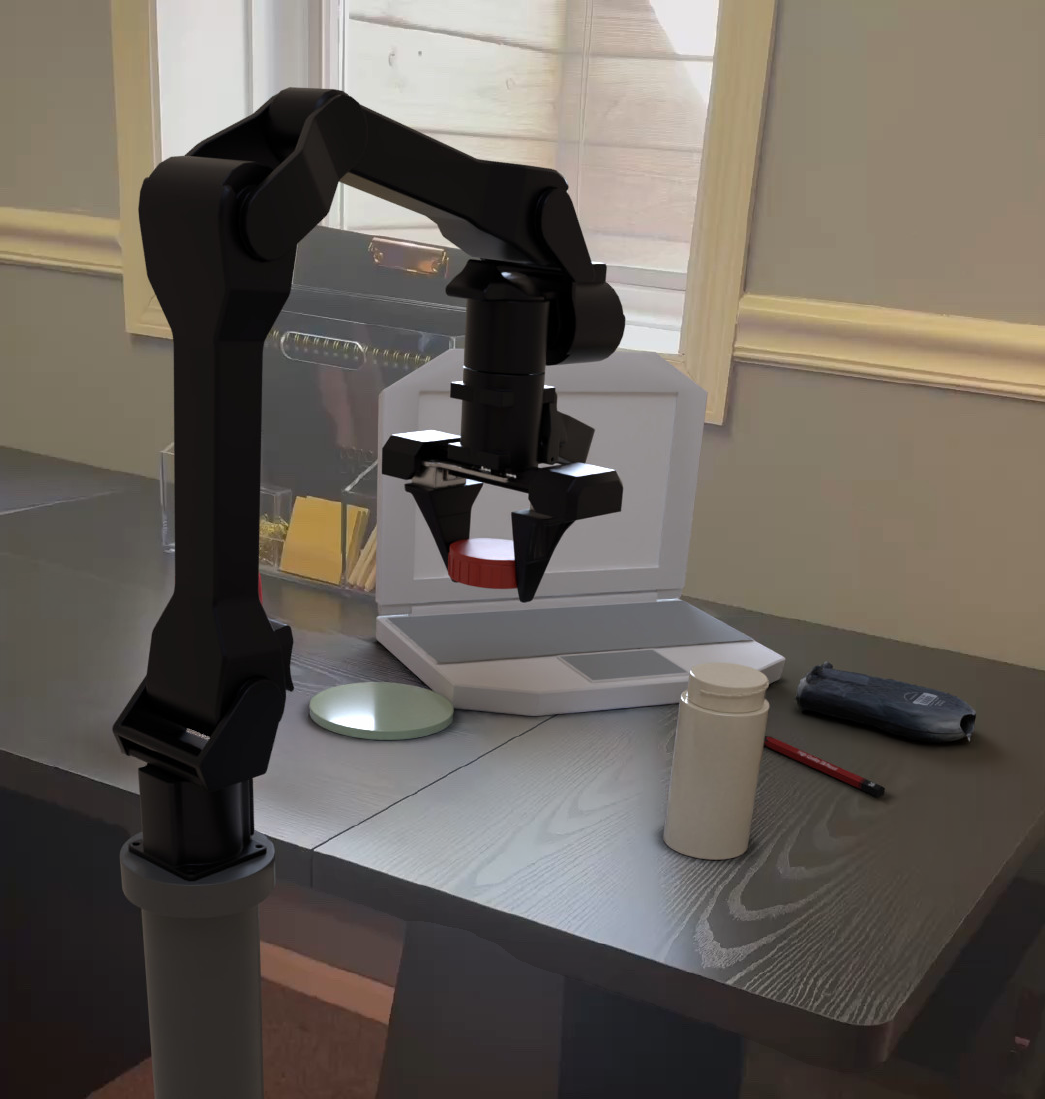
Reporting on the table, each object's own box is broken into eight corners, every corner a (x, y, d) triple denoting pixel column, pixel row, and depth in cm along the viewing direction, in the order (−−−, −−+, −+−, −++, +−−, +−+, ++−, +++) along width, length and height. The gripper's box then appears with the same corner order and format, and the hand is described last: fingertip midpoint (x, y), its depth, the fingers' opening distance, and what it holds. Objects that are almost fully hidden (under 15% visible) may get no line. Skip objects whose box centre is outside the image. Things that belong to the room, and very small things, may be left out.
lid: (504, 562, 110) (506, 535, 109) (555, 584, 105) (557, 556, 104) (430, 570, 106) (431, 542, 105) (479, 593, 101) (481, 563, 100)
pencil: (755, 739, 120) (757, 728, 119) (883, 797, 110) (885, 785, 110) (748, 741, 119) (750, 729, 119) (875, 799, 110) (878, 787, 109)
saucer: (382, 751, 111) (382, 742, 111) (279, 711, 118) (279, 702, 117) (482, 717, 120) (483, 708, 119) (381, 681, 126) (381, 672, 126)
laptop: (468, 724, 118) (484, 388, 105) (374, 639, 137) (378, 345, 124) (803, 693, 131) (853, 390, 118) (674, 619, 150) (706, 351, 137)
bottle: (718, 868, 96) (743, 695, 91) (646, 840, 100) (666, 672, 94) (763, 843, 101) (790, 676, 95) (693, 817, 104) (715, 654, 98)
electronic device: (788, 733, 125) (960, 749, 118) (792, 670, 123) (967, 682, 116) (820, 719, 133) (984, 733, 126) (825, 659, 131) (991, 670, 124)
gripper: (680, 382, 99) (655, 602, 106) (481, 348, 109) (471, 551, 117) (581, 391, 91) (562, 628, 99) (378, 354, 102) (374, 571, 109)
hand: (491, 591), depth 106 cm, fingers closed on lid, 6 cm apart
